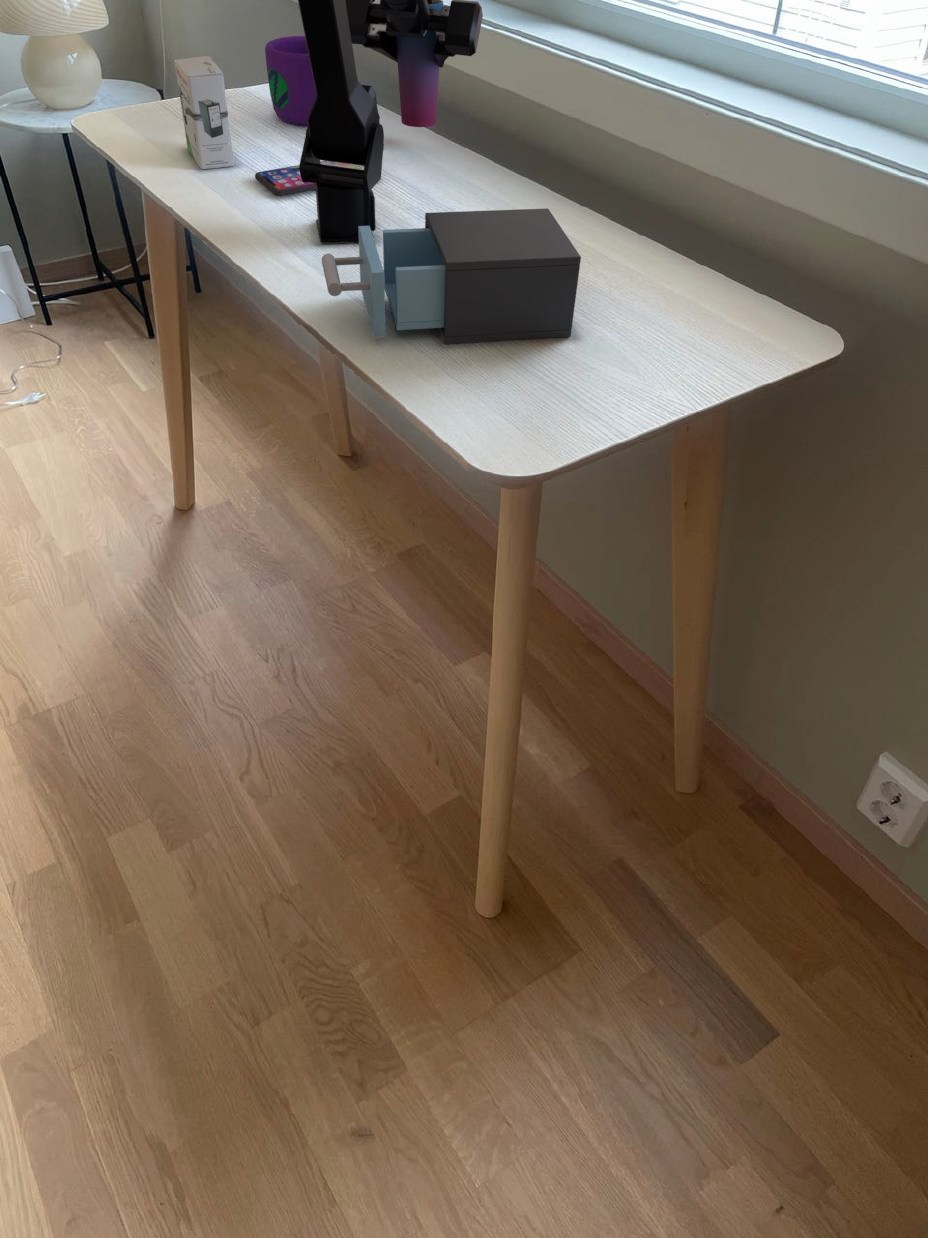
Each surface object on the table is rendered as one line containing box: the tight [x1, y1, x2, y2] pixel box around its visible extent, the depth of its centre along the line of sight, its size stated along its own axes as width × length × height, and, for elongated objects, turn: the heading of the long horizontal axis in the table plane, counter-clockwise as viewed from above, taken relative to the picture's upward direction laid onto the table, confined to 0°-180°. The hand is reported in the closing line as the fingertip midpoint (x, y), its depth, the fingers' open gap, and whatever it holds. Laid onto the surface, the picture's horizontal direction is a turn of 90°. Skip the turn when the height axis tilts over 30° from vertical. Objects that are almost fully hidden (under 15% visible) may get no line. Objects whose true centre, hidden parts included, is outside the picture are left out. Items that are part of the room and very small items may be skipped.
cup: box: [396, 0, 444, 128], centre depth 130 cm, size 7×7×15 cm
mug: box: [264, 35, 316, 126], centre depth 141 cm, size 17×11×10 cm, turn 43°
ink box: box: [173, 55, 236, 170], centre depth 127 cm, size 9×5×12 cm, turn 25°
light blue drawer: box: [321, 226, 446, 338], centre depth 96 cm, size 17×11×7 cm
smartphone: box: [254, 160, 364, 198], centre depth 126 cm, size 8×1×15 cm
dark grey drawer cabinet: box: [424, 208, 582, 345], centre depth 98 cm, size 14×13×9 cm
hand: (420, 61), depth 131 cm, fingers closed on cup, 6 cm apart
